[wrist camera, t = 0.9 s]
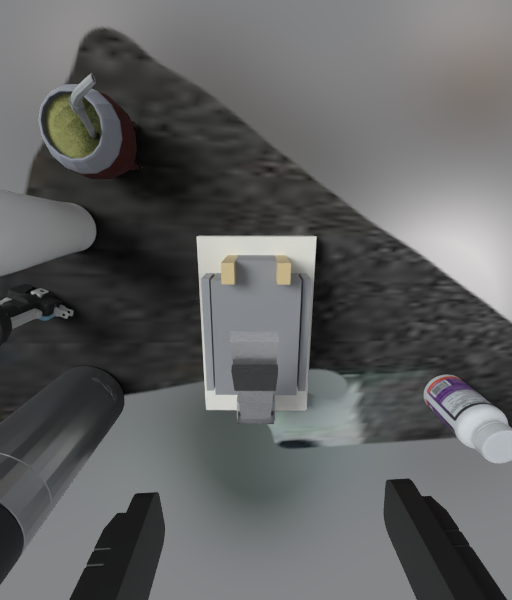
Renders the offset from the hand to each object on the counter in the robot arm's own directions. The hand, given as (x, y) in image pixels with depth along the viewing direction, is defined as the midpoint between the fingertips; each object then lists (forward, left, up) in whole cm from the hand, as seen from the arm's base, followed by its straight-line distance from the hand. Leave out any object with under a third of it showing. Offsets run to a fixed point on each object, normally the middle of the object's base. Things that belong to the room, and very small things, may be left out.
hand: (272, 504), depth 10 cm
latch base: (-3, -2, -26) cm, 26 cm away
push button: (-22, +15, -26) cm, 37 cm away
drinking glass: (-13, +19, -26) cm, 35 cm away
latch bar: (-3, -3, -16) cm, 16 cm away
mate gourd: (-3, +22, -26) cm, 34 cm away
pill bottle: (+12, -24, -26) cm, 37 cm away
